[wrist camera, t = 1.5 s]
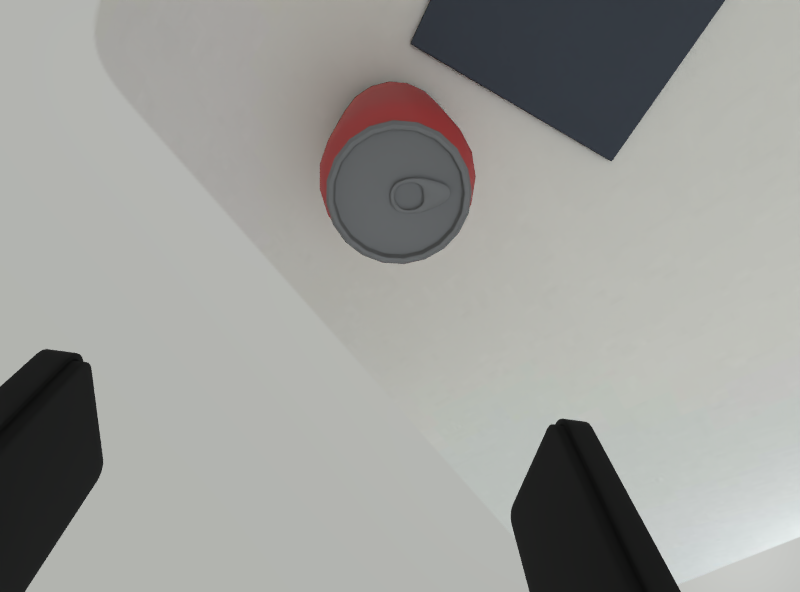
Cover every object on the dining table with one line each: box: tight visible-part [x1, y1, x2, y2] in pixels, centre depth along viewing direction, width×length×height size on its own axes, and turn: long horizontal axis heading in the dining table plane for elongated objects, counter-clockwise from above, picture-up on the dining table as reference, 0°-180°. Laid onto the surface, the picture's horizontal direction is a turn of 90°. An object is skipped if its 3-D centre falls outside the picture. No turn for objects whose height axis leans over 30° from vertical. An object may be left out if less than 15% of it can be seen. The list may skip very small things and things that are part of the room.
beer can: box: [320, 82, 476, 264], centre depth 23 cm, size 7×7×12 cm
